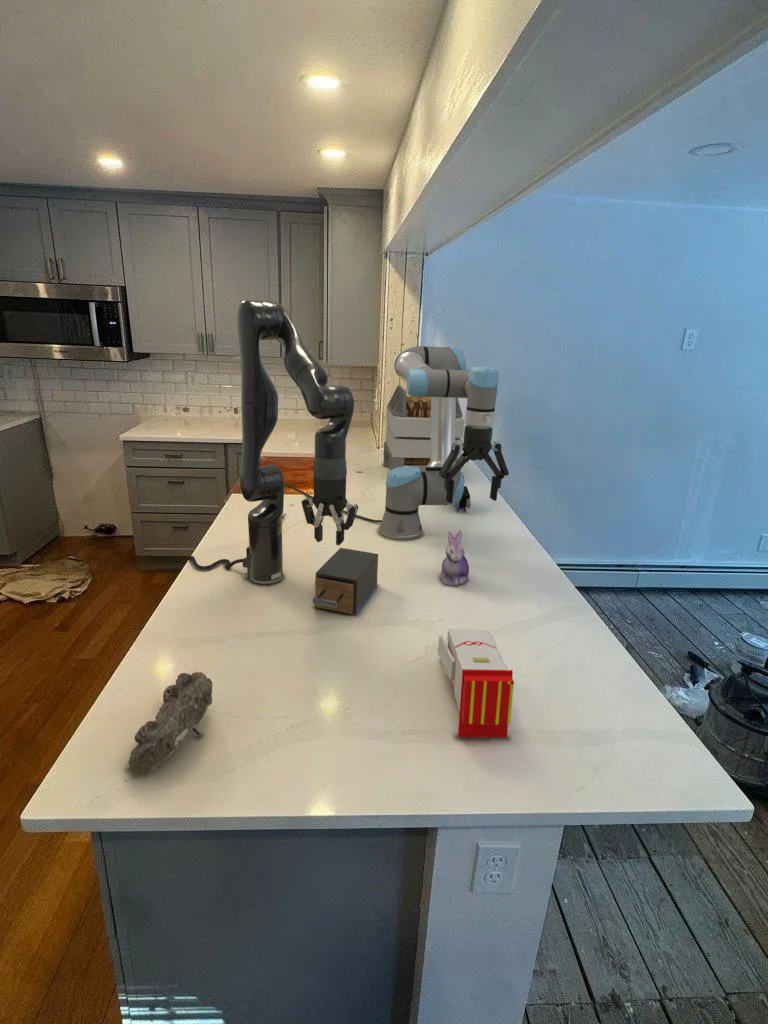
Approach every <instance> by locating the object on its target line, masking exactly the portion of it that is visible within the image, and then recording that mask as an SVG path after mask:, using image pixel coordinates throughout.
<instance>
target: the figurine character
mask: <svg viewBox="0 0 768 1024" xmlns="http://www.w3.org/2000/svg"><path fill="white" fill-rule="evenodd" d="M471 501H472V500H471V494H470V491H469V488H468V486H467V485H464V490H463V494H462V497H461V500H460V501H459V502H458V503H457V504H455V505H453V507H454V508H456V511H457V512H460V510H463V511H464V513H466V512H467V509H470V508H471V505H472V504H471ZM466 508H467V509H466Z"/></svg>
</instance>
